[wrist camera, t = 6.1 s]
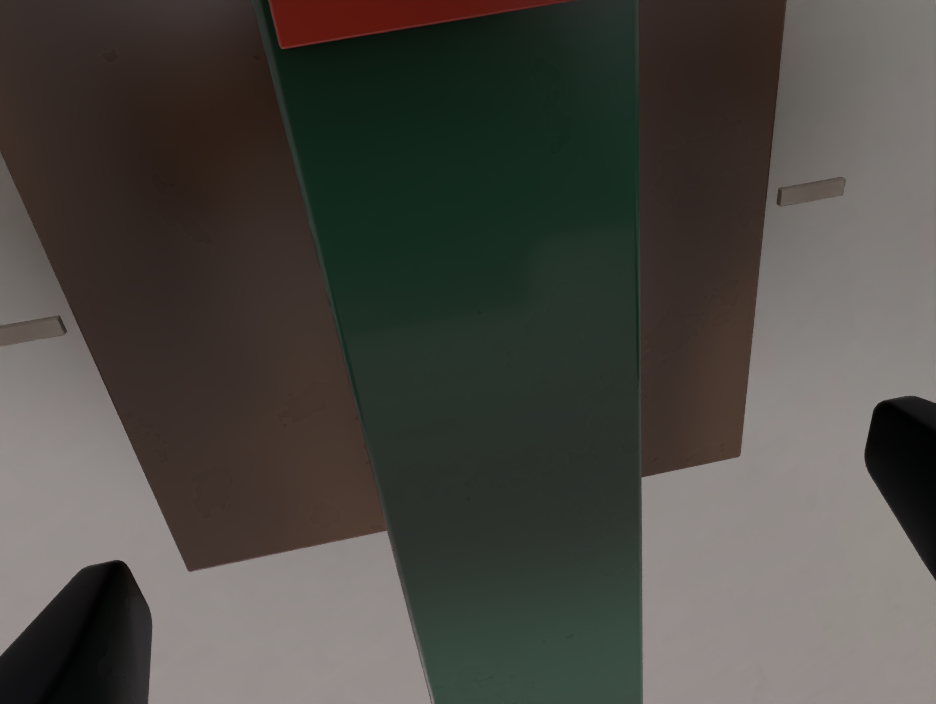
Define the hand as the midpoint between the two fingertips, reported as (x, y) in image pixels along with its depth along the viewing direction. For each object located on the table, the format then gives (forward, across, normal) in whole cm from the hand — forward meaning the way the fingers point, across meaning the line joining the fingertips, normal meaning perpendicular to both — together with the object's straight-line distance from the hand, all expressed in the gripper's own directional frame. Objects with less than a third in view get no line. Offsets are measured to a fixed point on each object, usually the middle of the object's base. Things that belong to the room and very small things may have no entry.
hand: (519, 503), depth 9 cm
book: (+7, 0, 0) cm, 7 cm away
